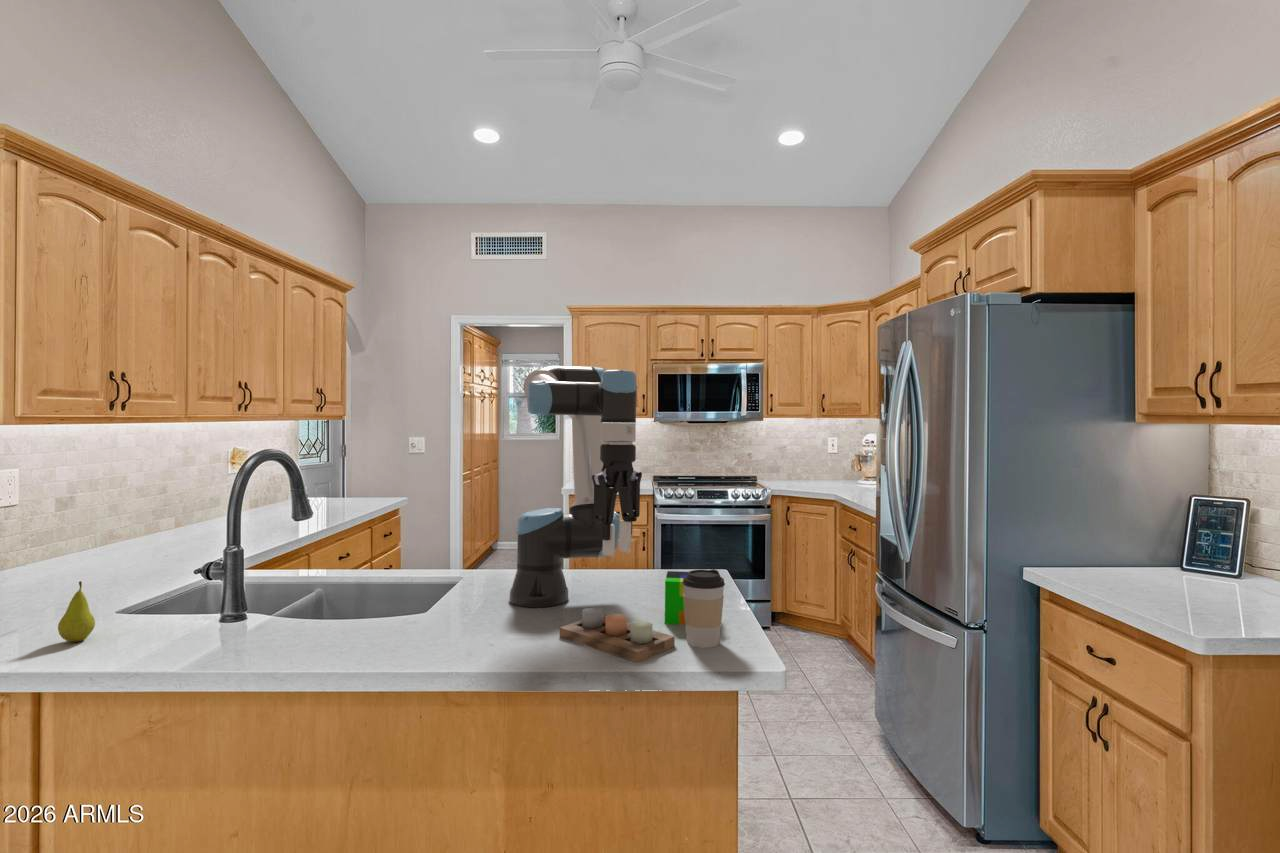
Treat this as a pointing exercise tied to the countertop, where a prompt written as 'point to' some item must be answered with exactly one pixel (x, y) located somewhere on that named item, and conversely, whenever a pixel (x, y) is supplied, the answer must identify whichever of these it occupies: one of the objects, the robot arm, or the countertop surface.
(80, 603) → the fruit
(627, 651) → the button board
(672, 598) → the puzzle toy
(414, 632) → the countertop surface
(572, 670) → the countertop surface
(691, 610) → the coffee cup
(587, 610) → the button grey
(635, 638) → the button sage
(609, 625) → the button terracotta
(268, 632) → the countertop surface
